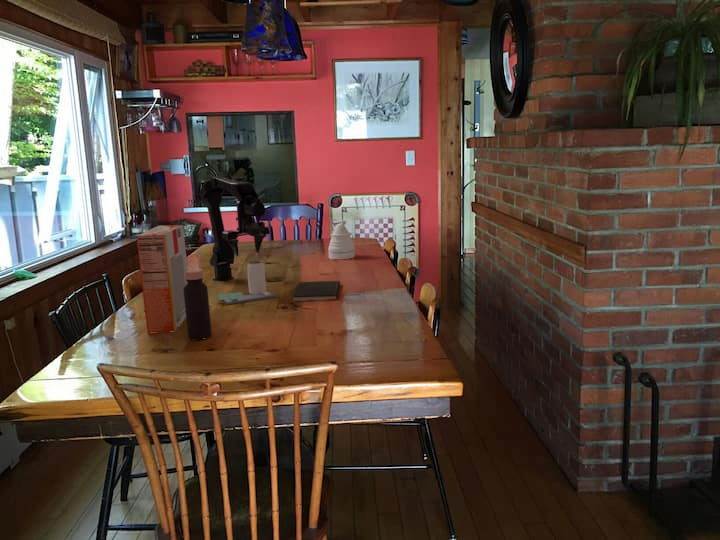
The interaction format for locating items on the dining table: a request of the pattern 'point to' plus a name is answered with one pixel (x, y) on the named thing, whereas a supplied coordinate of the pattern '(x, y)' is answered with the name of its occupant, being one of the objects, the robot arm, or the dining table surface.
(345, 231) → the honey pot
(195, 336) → the bottle
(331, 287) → the hardcover book
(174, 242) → the cereal box
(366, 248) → the dining table surface
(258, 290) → the can
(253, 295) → the legend board
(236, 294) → the pad
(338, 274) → the dining table surface
